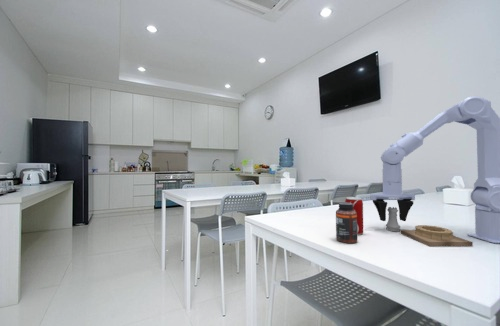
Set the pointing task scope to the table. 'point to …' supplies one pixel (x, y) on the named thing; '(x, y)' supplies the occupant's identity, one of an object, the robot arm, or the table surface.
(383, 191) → the robot arm
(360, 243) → the table surface
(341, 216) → the supplement bottle
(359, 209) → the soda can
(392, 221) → the rook chess piece
